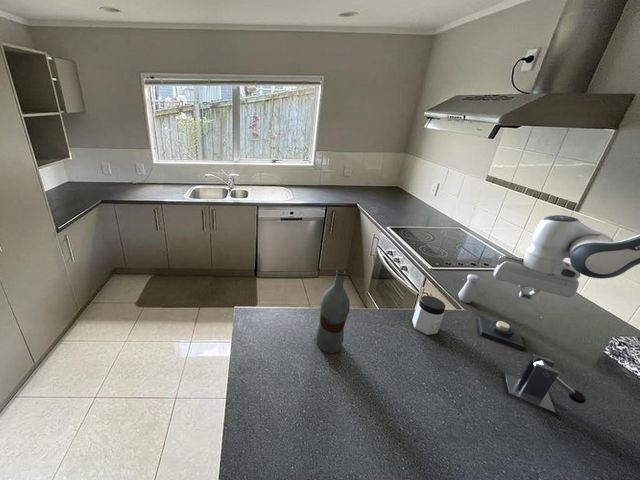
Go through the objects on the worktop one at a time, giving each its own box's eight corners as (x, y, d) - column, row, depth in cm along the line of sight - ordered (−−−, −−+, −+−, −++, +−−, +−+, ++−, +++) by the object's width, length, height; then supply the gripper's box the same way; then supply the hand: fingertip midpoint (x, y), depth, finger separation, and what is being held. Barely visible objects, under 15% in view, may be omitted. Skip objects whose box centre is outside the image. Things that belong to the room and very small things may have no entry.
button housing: (516, 334, 106) (520, 325, 105) (521, 351, 99) (526, 342, 97) (477, 321, 112) (481, 313, 111) (479, 336, 104) (483, 328, 103)
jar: (422, 336, 103) (431, 310, 99) (406, 321, 111) (414, 296, 106) (442, 333, 105) (452, 307, 101) (425, 318, 112) (434, 294, 108)
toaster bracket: (546, 393, 84) (565, 361, 79) (553, 415, 78) (575, 383, 73) (503, 376, 89) (519, 345, 84) (507, 395, 82) (525, 364, 78)
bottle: (309, 344, 98) (320, 270, 87) (322, 330, 104) (334, 260, 93) (333, 359, 92) (348, 283, 81) (346, 344, 98) (361, 271, 87)
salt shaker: (458, 302, 123) (468, 277, 118) (455, 295, 128) (464, 271, 123) (474, 306, 121) (484, 281, 116) (470, 298, 126) (480, 274, 121)
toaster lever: (574, 398, 78) (587, 394, 77) (578, 407, 76) (592, 404, 74) (531, 362, 81) (542, 357, 80) (533, 369, 79) (545, 365, 77)
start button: (507, 327, 105) (509, 323, 104) (508, 332, 102) (510, 329, 101) (495, 323, 106) (496, 319, 106) (496, 328, 104) (498, 325, 103)
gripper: (501, 257, 94) (488, 291, 100) (588, 276, 84) (568, 313, 89) (499, 250, 99) (486, 283, 105) (580, 267, 89) (562, 303, 94)
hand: (524, 297), depth 97 cm, fingers closed
